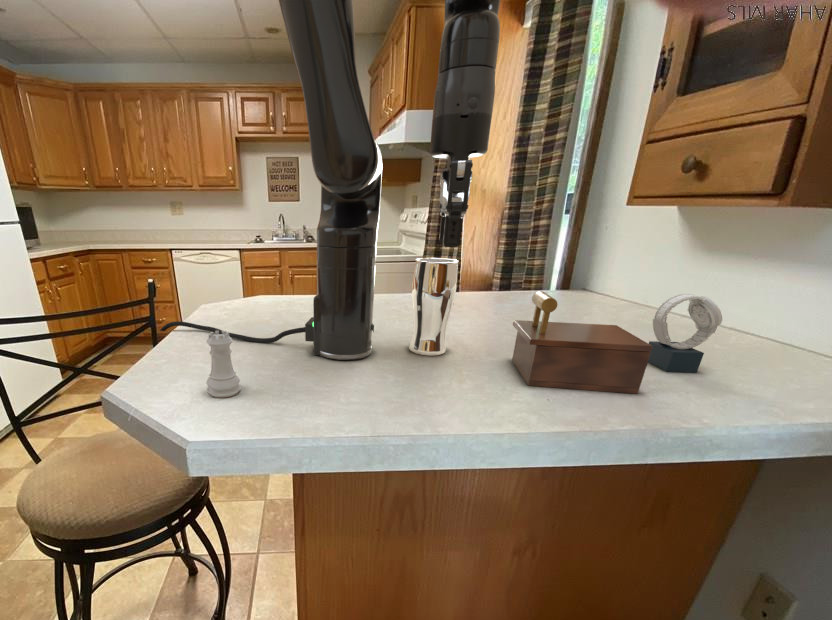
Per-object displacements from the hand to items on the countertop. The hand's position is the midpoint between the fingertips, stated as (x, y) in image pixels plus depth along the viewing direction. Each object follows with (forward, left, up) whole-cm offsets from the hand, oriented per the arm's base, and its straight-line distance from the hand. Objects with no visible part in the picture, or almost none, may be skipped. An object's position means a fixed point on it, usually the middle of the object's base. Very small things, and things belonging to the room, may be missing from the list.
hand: (448, 244), depth 62 cm
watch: (+36, +4, -18) cm, 40 cm away
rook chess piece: (-28, -20, -18) cm, 39 cm away
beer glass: (-1, +4, -18) cm, 18 cm away
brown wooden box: (+19, -4, -18) cm, 26 cm away
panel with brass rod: (+18, -4, -12) cm, 22 cm away
